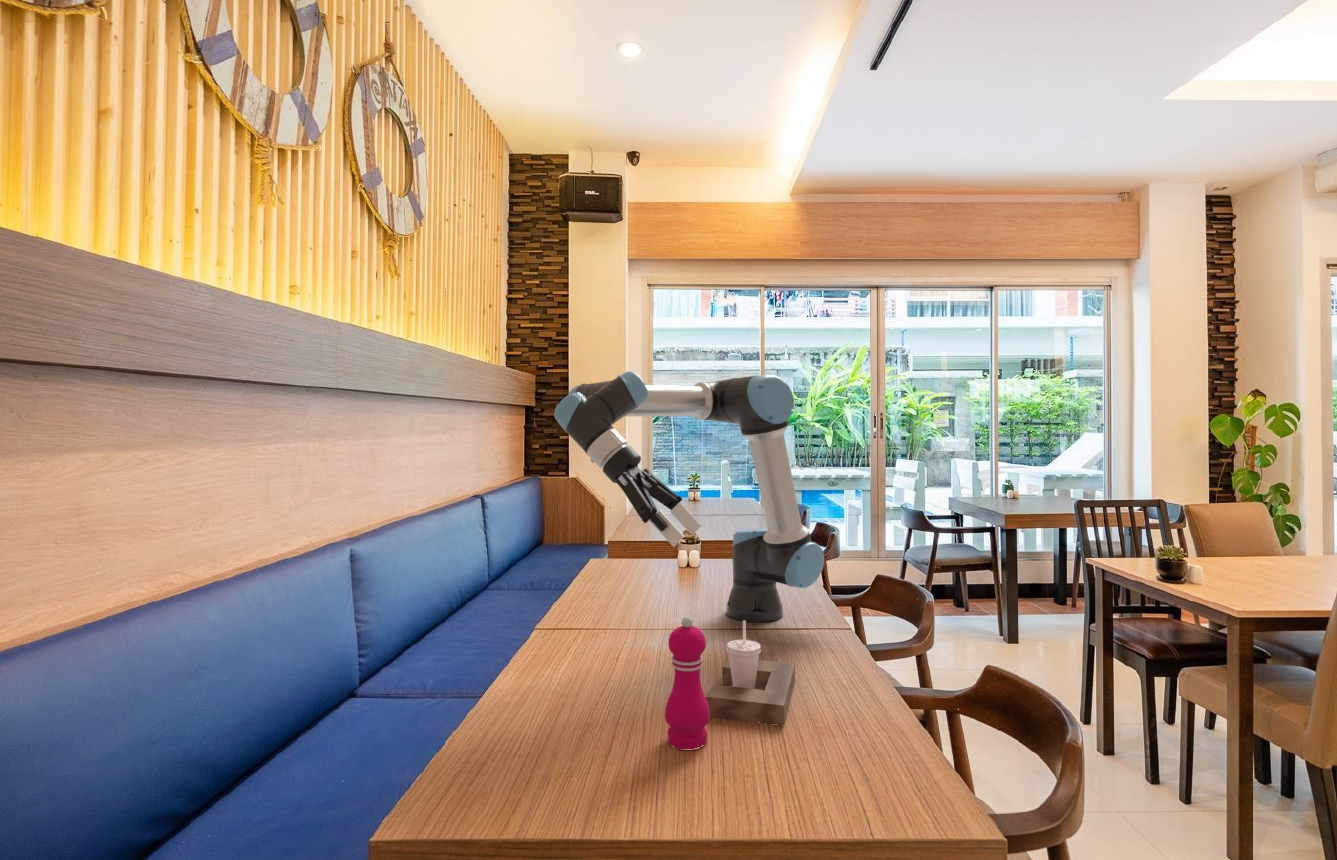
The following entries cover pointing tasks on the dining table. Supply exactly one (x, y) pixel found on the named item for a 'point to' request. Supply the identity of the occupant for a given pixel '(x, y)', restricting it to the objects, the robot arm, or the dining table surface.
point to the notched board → (755, 695)
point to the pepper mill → (687, 689)
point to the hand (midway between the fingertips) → (688, 535)
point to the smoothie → (743, 661)
